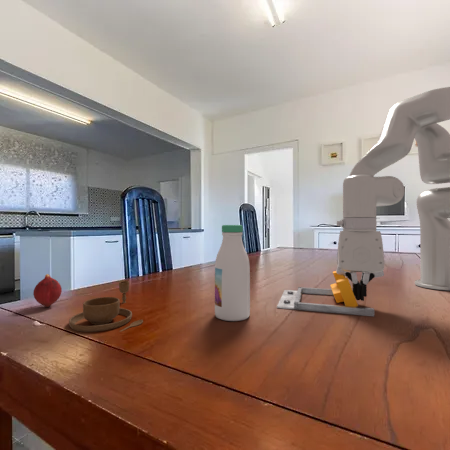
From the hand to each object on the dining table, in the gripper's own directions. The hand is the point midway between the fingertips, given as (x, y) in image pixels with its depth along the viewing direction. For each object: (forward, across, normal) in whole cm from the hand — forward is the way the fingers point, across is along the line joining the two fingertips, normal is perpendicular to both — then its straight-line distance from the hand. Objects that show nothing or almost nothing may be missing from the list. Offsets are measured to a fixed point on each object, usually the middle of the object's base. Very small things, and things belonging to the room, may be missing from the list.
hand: (359, 299), depth 70 cm
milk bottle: (+2, -28, -17) cm, 33 cm away
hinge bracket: (+2, -9, +1) cm, 9 cm away
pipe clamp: (+1, -3, +1) cm, 3 cm away
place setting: (+3, -52, -24) cm, 58 cm away
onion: (+2, -73, -24) cm, 77 cm away
